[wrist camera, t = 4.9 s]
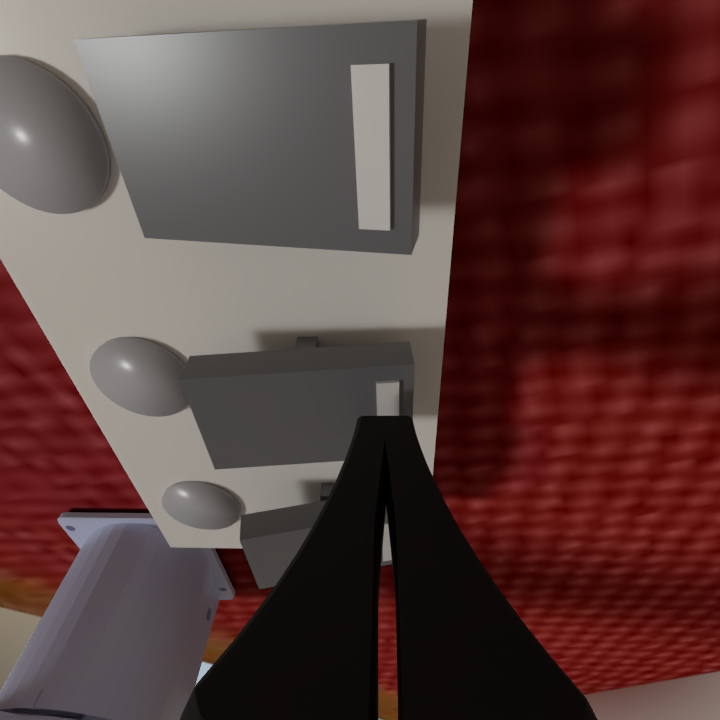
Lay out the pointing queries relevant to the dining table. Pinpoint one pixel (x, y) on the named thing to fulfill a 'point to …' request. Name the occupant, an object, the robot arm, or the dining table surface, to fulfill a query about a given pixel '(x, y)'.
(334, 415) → the middle rocker
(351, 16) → the power strip
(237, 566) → the dining table surface
